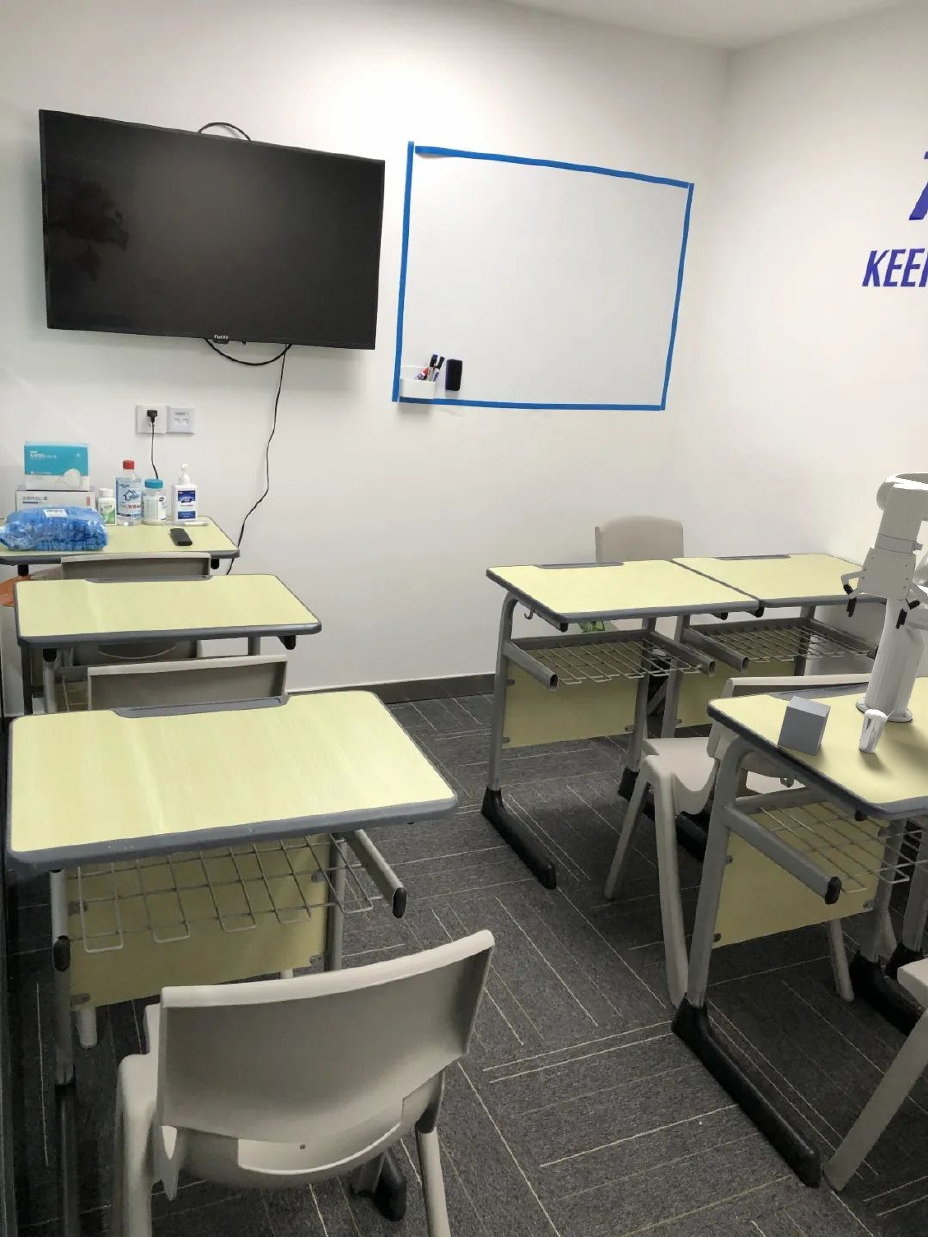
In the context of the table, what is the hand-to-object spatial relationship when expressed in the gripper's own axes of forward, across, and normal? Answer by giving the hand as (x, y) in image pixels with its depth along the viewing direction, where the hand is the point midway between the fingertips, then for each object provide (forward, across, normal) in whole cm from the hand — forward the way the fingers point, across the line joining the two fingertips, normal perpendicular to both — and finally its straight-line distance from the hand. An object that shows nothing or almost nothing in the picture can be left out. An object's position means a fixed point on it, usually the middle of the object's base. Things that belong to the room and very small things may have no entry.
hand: (873, 621), depth 200 cm
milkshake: (+26, -6, +6) cm, 28 cm away
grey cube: (+26, +7, +14) cm, 31 cm away
